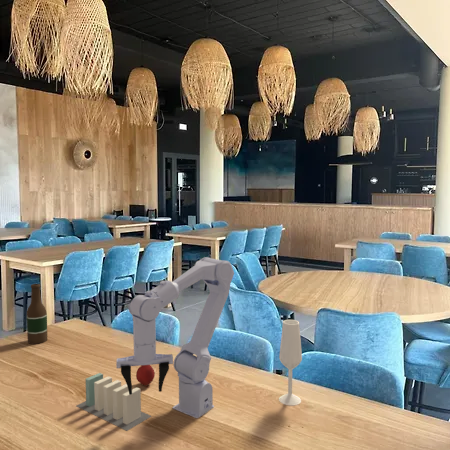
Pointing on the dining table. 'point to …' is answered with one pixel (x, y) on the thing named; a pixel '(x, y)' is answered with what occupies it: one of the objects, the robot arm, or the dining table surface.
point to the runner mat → (110, 417)
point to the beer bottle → (36, 318)
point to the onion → (145, 374)
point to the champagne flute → (290, 356)
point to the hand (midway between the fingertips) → (145, 391)
